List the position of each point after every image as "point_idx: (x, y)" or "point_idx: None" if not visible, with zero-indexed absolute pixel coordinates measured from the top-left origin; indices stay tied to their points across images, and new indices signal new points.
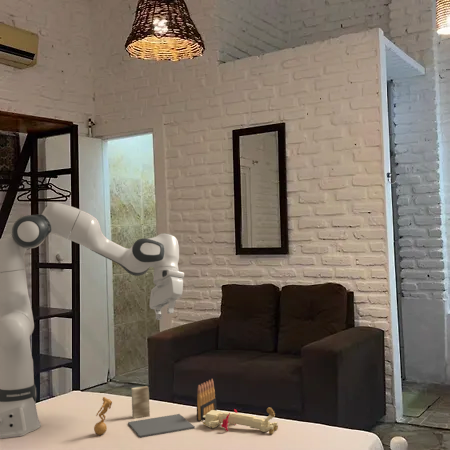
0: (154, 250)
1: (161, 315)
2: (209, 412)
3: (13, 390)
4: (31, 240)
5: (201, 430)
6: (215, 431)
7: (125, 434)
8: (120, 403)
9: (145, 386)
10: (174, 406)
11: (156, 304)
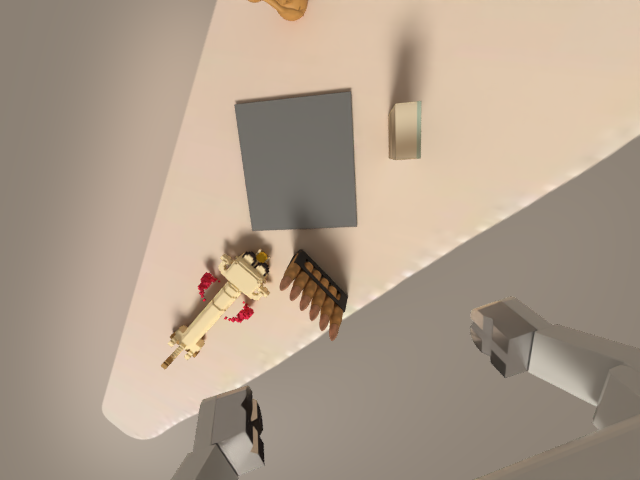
0: None
1: (495, 361)
2: (243, 271)
3: None
4: None
5: (237, 238)
6: None
7: (272, 74)
8: (575, 97)
9: (414, 152)
10: (441, 235)
11: (611, 431)
